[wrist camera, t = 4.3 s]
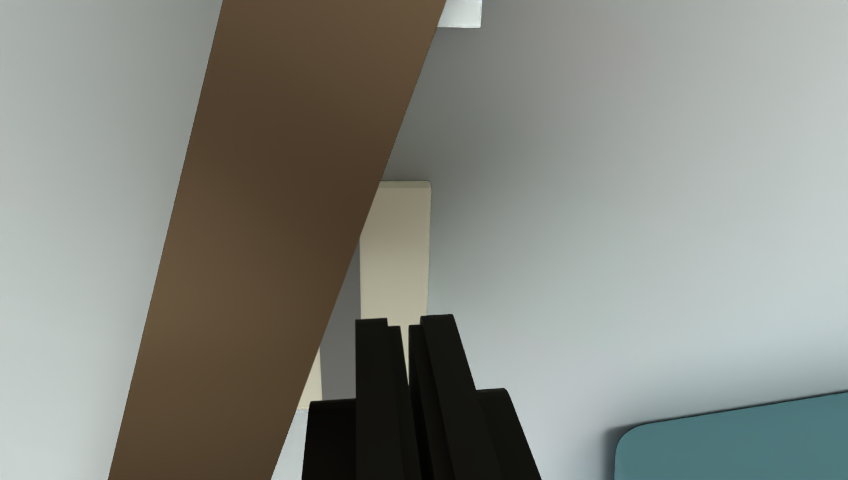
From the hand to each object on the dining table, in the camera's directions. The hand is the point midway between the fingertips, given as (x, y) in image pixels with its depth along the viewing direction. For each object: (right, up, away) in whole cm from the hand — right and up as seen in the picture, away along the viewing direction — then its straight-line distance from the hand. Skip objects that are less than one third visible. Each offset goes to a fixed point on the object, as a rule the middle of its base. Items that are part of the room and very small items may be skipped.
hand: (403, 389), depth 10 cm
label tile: (-2, +1, +7) cm, 7 cm away
